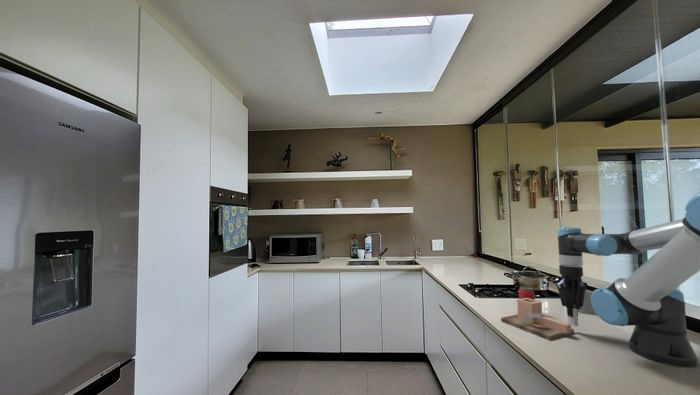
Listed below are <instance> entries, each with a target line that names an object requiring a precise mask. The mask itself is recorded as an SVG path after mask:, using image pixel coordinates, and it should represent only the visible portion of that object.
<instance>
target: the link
mask: <svg viewBox="0 0 700 395" xmlns="http://www.w3.org/2000/svg"><path fill="white" fill-rule="evenodd" d="M516 302H517V314H518V318H519V319H522V320H525V314H524V311H526V312H533V313H540V314H541V315H542V318H534V317H529V322H530V323H538V324H540V325H543V326H546V327H549V328H552V329H555V330H558V331H560V332H563V333H566V334H567V333H571V328H572V325H571V324H568V322H564V321H561V320H559V319H555V318H552V317H549V316H546V315H544V314H543V308H542V307H543V306H542V304H543V303H542V301H540V300H536V299H535V300H533V299H529V298H523V299H519V298H518V299H516Z"/></svg>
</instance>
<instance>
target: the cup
mask: <svg viewBox="0 0 700 395" xmlns="http://www.w3.org/2000/svg"><path fill="white" fill-rule="evenodd" d="M592 292H593V291H592V290H589V289H587V288H586V289H585V295H584V302H583V307H580V308H581V309H578V312H579V313H578V314H584V315H594V314H595V311H594V309H593V307H592V302H591V294H592Z"/></svg>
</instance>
